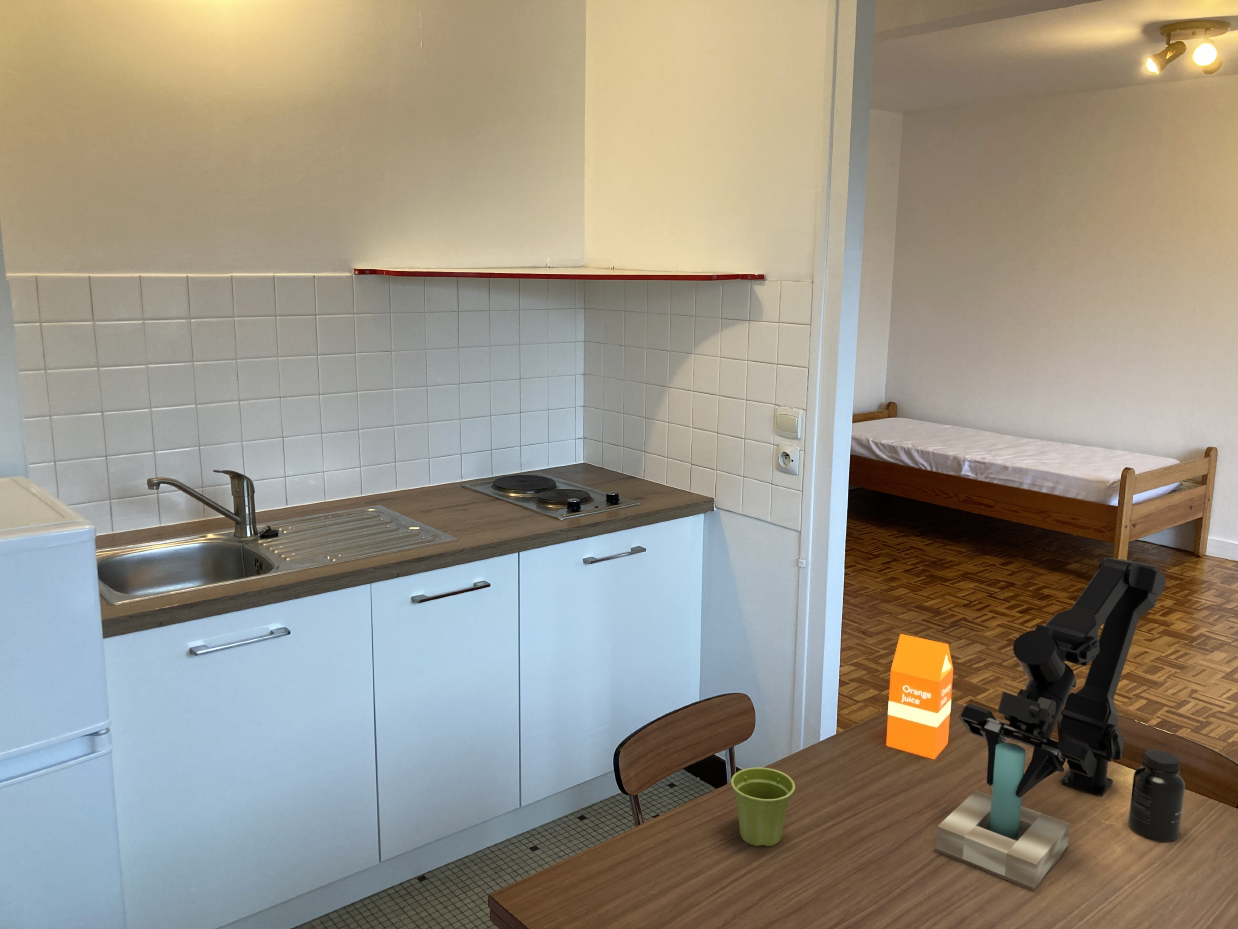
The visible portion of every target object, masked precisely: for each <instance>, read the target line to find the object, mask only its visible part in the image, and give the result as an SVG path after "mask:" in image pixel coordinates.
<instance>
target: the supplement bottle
mask: <svg viewBox="0 0 1238 929" xmlns="http://www.w3.org/2000/svg"><path fill="white" fill-rule="evenodd" d="M1141 765H1142V766H1140V767H1138V768H1137V769H1136V770H1135V771H1134V773H1133V779H1132V785H1131V786H1132V788H1131V795H1130V796H1131V797H1130V805H1129V812H1128V814H1129V815H1128V824H1129V826H1130V828H1131V830H1133V831H1134V832H1135V833H1137V834H1138V835H1140V836H1142V837H1144V838H1147V839H1149V840H1154V841H1159V842H1170V841H1174V840H1176V839H1177V838H1178V837H1179V834H1180V829H1181V824H1182V822H1181V821H1182V817H1183V816H1182V815H1183V807H1184V799H1185V789H1186V784H1185V781H1184V779H1183V777H1182V776H1181V775H1180V771H1181V768H1180V767H1181V760H1180V758H1179V757H1178V756H1176V755H1174V754H1173V753H1171V752H1167V751H1163V750H1159V749H1149V750H1146V751H1145V752H1143V757H1142V761H1141Z"/></svg>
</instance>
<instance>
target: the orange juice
mask: <svg viewBox="0 0 1238 929" xmlns="http://www.w3.org/2000/svg"><path fill="white" fill-rule="evenodd" d="M891 664H892V665H891V668H890V677H889V678H890V679H889V692H888V694H889V697H888V705H887V706H888V707H887V708H888V709H887V727H886V728H887V729H886V744H885V746H886V747H890V748H894V749H895V750H896V749H897V750H901V751H904V752H907V753H911V754H914V755H917V756H921V757H924V758H929V759H932V760H936V758H937V757H938V756H939V754H941V752H942V751H943V750H944V749H945V748H946V746H947V745H948V743H949V733H950V716H951V709H952V708H951V707H952V691H953V690H952V689H953V677H954V666H953V662H952V657H951V652H950V647H949V643H946V642H945V643H944V642H940V641H935V640H931V639H930V640H929V639H925V638H921V637H916V636H911V635H907V634H902V633H900V634H899V638H898V642H897V645H896V650H895V653H894V657H893V661H892V663H891Z"/></svg>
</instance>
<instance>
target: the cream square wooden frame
mask: <svg viewBox="0 0 1238 929" xmlns="http://www.w3.org/2000/svg"><path fill="white" fill-rule="evenodd" d="M991 799H992V794H988V793H985V792H982V791H980V790H977V789H976V790H975V791H973V792H972V793H971V794H970V795H969V796H968V797H967V798H966V799H965V800H964V801H963V802H961V804H960V805H958V806H957V807H956V808H955V809H954V810H953V811H952V812H951V813H950V814H949V815H948V816H947V817H946V818H945V819H944V820H942V821H941V822H940V823H939V824H938V825H937V828H936V841H935V852H936V853H940V854H942V855H944V856H945V857H946V856H947V857H948V858H951V859H954V860H957V861H958V862H961V863H964V864H966V865H968V866H971V867H973V868H975V867H976V869H977V870H980V869H982V870H981V871H983V872H986V873H988V872H989V873H988V874H990V875H993V876H995V877H998V878H1000V879H1003V880H1004V881H1005V880H1006V881H1007V880H1008V882H1010V883H1013V884H1015V885H1018V886H1020V887H1023V888H1026V889H1027V890H1030V891H1033V892H1034V891H1036V890H1037V888H1038V887H1039V885H1040V884H1041V883H1042V882H1043V880H1044V879H1045V878H1046V877H1047V876H1048V874H1049V873H1050V872H1051V870H1052V869H1053V868H1054V867H1055V865H1056V864H1057V863H1056V862H1059V860H1060V859H1061V857H1062V856H1064V854H1065V852H1067V850H1068V849H1069V838H1070V831H1071V823H1070V822H1067V821H1065V820H1062V819H1060V818H1057V817H1054V816H1050V815H1048V814H1045V813H1042V812H1040V811H1036V810H1034V809H1031V808H1028V807H1025V806H1022V805H1021V812H1020V823H1019V834H1018V837H1017V838H1016V839H1010V838H1008V837H1005V836H1002V835H1000V834H997V833H994V832H992V831H989V824H990V811H991Z"/></svg>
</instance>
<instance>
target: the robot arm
mask: <svg viewBox="0 0 1238 929" xmlns="http://www.w3.org/2000/svg"><path fill="white" fill-rule="evenodd" d="M1166 582H1167V581H1166V575H1165V574H1164V573H1163V572H1161V570H1160V567H1159V566H1157V565H1154V564H1153V565H1152V564H1147V563H1142V562H1139V561H1138V562H1137V561H1132V560H1127V559H1122V558H1119V559H1118V558H1114V557H1105V558H1103V557H1102V559H1101V560H1100V561H1099V564H1098V567H1097V571H1096V573H1095V574H1094V576H1093V577H1092V578H1091V580H1090V581H1089V583H1088V584H1087V586H1086V587H1085V588H1084V590H1083V591H1082V592H1081V593H1080V595H1079V597H1078V598H1077V599H1076V601H1075V602H1074V604H1073V605H1072V606H1071V608H1069V609H1066V610H1063V611H1061V612H1060V611H1059V612H1057V613H1056V614H1054V615H1053V616H1052V618H1050V620H1049V621H1047V623H1046V624H1045V625H1043V624H1039V623H1038V624H1036V627H1035V629H1034V630H1028V631H1025V632H1024V633H1023V632H1022V634H1020V635H1019V636H1018V637H1017V638H1015V640H1014V641H1013V646H1012V651H1013V653H1014V656H1015V658H1016V660H1017V661H1018V663H1019V665H1020V667H1021V669H1022V670H1023V672H1024V674H1025V675H1026V676H1027V678H1029V679H1028V681H1027V683H1026V685H1025V688H1024V689H1022V688H1020V690H1018V692H1017V695H1016V694H1013V693H1010V692H1006V691H1002V694H1001V697H1000V701H999V704H998V708H997V711H996V712H997V713H998V714H1001V715H1003V718H1004V719H1005V721H1007V722H1008V723H1004V722H1002V721H999V720H997V718H996V717H995V715H994V714H993V712H992V711H991V710H990V709H988V708H984V707H982V706H978V705H975V704H973V703H968V704H966V705H965V706H963V707H962V708H961V710H960V712H959V715H958V718H959V720H960V721H961V723H962V724H963V725H964V727H965V729H966V730H967V731H968V732H969V733H971V734H972V735H974V736H975V737H980V738H983V739H984V740H985V741H986V742H987V766H986V767H987V769H986V770H987V772H986V784H987V786H989V787H993V775H994V763H995V750H996V745H997V744H999V743H1007V741H1008V739H1010V740H1011V741H1014V742H1018V743H1021V744H1023V745H1027V746H1028V747H1031V748H1033V751H1032V756H1031V759H1030V762H1029V763H1028V765H1027V768H1026V770H1024V775H1023V777H1022V779H1021V781H1020V783H1019V785H1018V788H1017V791H1016V796H1017V797H1019V798H1020V797H1022V798H1023V796H1024V795H1026V793H1028V792H1029V791H1030V790H1032V789H1033V788H1034V787H1036V786H1037V785H1038V784H1039V783H1040V782H1042V781H1043V780H1045V779H1047V778H1048V777H1050V776H1051V775H1052V774H1055V773H1056V772H1059V773H1064V771H1065V767H1064V764H1065V762H1066V763H1067V764H1066V765H1068V771H1067V772H1066V773H1065V775H1063V777H1062V778H1061V779H1060V784H1062V785H1064V786H1067V787H1070V788H1071V787H1072V788H1074V789H1076V790H1080V791H1083V792H1087V793H1088V794H1089V793H1090V794H1092V795H1096V796H1099V797H1103V795H1104V794H1105V793H1106V792H1107V791H1108V790H1109V788H1110V787H1111V786H1112V784H1113V782H1114V780H1113V779H1112V778H1109V777H1108V769H1109V762H1110V763H1111V762H1113V761H1114V760H1115V761H1117V760H1118V761H1120V760H1122V757H1123V756H1122V754H1123V751H1124V748H1125V746H1124V745H1125V739H1124V737H1123V735H1122V733H1121V731H1120V729H1119V727H1118V724H1119V722H1120V718H1119V714H1118V711H1117V708H1116V703H1115V700H1114V699H1115V695H1116V692H1117V690H1118V686H1119V683H1120V681H1121V676H1122V674H1123V670H1124V668H1125V664H1126V662H1127V657H1128V655H1129V652H1130V648H1131V644H1132V643H1133V640H1134V636H1135V632H1136V630H1137V626H1138V623H1139V620H1140V618H1141V617H1143V616H1144V615H1145V614H1147V613H1148V612H1149V611H1151V610H1152V609H1153V608H1155V606H1156V604H1157V601H1158V599H1159V596H1161V595H1162V594H1163V592H1164V590H1165V587H1166ZM1101 627H1102V629H1101ZM1100 629H1101V633H1100V635H1099V631H1100ZM1066 662H1067V663H1070V664H1071V663H1072V664H1074V665H1078V666H1083V667H1086V666H1087V665H1089V664H1090V665H1089V668H1088V672H1087V675H1086V677H1085V682H1084V684H1083V687H1082V688H1080V689H1079V690H1078V691H1075V692H1074V691H1073V692H1072V691H1071V690H1072V688H1073V689H1074V688H1076V687H1077V679H1076V678H1077V677H1076V674H1075V673H1074V669H1073V668H1071V666H1070V665H1068V664H1067V663H1066ZM1056 727H1057V728H1056ZM1055 728H1056V729H1057V739H1058V741H1057V740H1054V739H1052V738H1051V737H1052V734H1053V733H1054V730H1055Z"/></svg>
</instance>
